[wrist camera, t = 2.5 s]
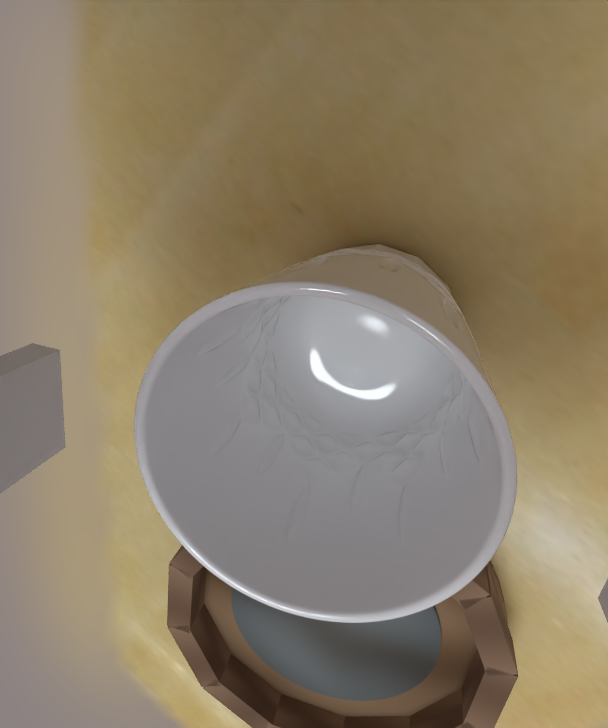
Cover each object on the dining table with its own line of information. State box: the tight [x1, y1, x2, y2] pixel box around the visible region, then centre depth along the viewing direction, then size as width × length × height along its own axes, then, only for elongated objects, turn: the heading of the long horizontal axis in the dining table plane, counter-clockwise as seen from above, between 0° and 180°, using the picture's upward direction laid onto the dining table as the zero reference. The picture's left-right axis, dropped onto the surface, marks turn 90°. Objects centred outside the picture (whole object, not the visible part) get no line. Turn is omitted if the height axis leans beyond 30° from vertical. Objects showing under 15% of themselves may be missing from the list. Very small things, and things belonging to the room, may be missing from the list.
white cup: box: [134, 244, 517, 623], centre depth 14 cm, size 8×8×10 cm
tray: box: [167, 545, 518, 728], centre depth 23 cm, size 16×16×3 cm
